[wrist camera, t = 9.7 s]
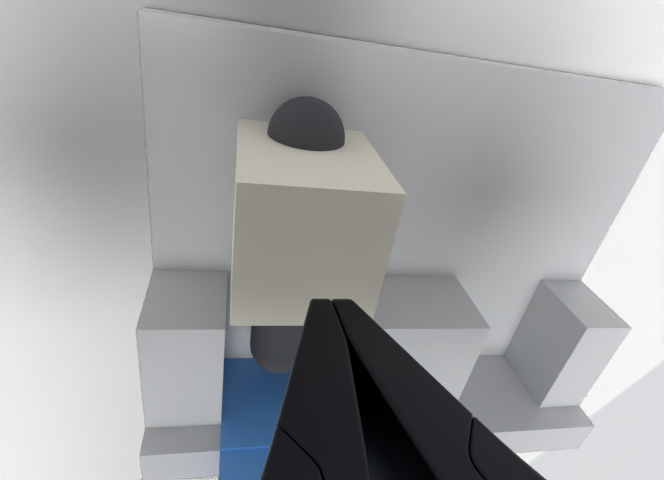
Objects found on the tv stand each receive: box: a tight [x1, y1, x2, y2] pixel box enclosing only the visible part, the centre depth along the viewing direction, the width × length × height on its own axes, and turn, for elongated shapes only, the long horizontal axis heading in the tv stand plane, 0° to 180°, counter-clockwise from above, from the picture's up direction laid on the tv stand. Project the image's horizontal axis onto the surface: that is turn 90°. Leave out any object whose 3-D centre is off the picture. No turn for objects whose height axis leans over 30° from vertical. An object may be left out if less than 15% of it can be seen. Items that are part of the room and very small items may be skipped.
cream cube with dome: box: [230, 96, 407, 373], centre depth 13 cm, size 10×4×4 cm, turn 171°
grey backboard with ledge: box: [136, 8, 664, 480], centre depth 15 cm, size 14×18×6 cm
